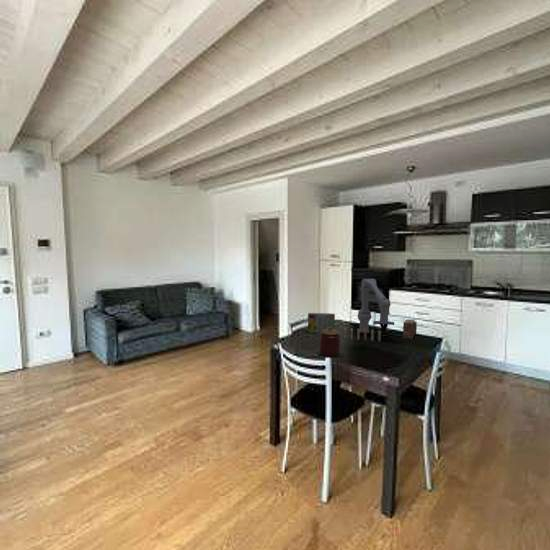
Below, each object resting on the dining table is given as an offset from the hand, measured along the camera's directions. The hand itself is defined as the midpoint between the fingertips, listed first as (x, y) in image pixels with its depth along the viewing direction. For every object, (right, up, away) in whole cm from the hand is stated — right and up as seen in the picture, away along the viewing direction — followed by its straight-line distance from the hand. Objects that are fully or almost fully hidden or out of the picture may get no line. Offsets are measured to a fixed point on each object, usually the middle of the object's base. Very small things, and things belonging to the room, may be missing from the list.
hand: (383, 334), depth 246 cm
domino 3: (-17, -4, +4) cm, 18 cm away
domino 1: (-27, -4, +6) cm, 28 cm away
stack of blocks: (+26, -4, +15) cm, 30 cm away
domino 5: (-3, -5, +1) cm, 6 cm away
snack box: (-43, -3, +23) cm, 49 cm away
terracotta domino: (-13, -5, +3) cm, 14 cm away
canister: (-45, -8, -29) cm, 54 cm away
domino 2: (-22, -4, +5) cm, 23 cm away
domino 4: (-8, -5, +2) cm, 9 cm away
